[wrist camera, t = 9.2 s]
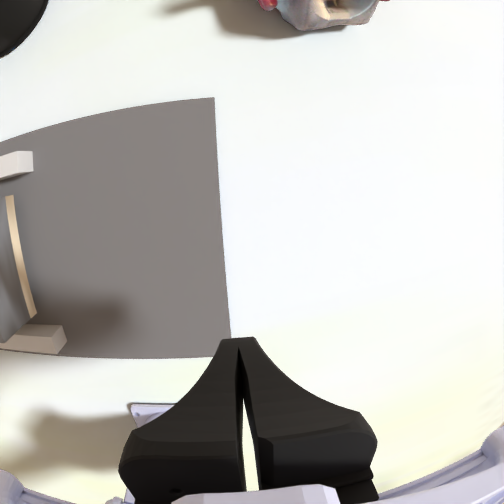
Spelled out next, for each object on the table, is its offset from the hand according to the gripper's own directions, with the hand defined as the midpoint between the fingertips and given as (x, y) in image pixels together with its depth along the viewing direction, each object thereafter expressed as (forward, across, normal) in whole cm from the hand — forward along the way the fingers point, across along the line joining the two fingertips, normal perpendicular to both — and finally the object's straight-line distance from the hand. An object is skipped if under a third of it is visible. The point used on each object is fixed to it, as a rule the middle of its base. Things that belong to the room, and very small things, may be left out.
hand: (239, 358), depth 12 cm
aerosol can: (+10, +18, -24) cm, 31 cm away
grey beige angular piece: (+9, +21, -3) cm, 23 cm away
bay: (+9, +16, -3) cm, 19 cm away
